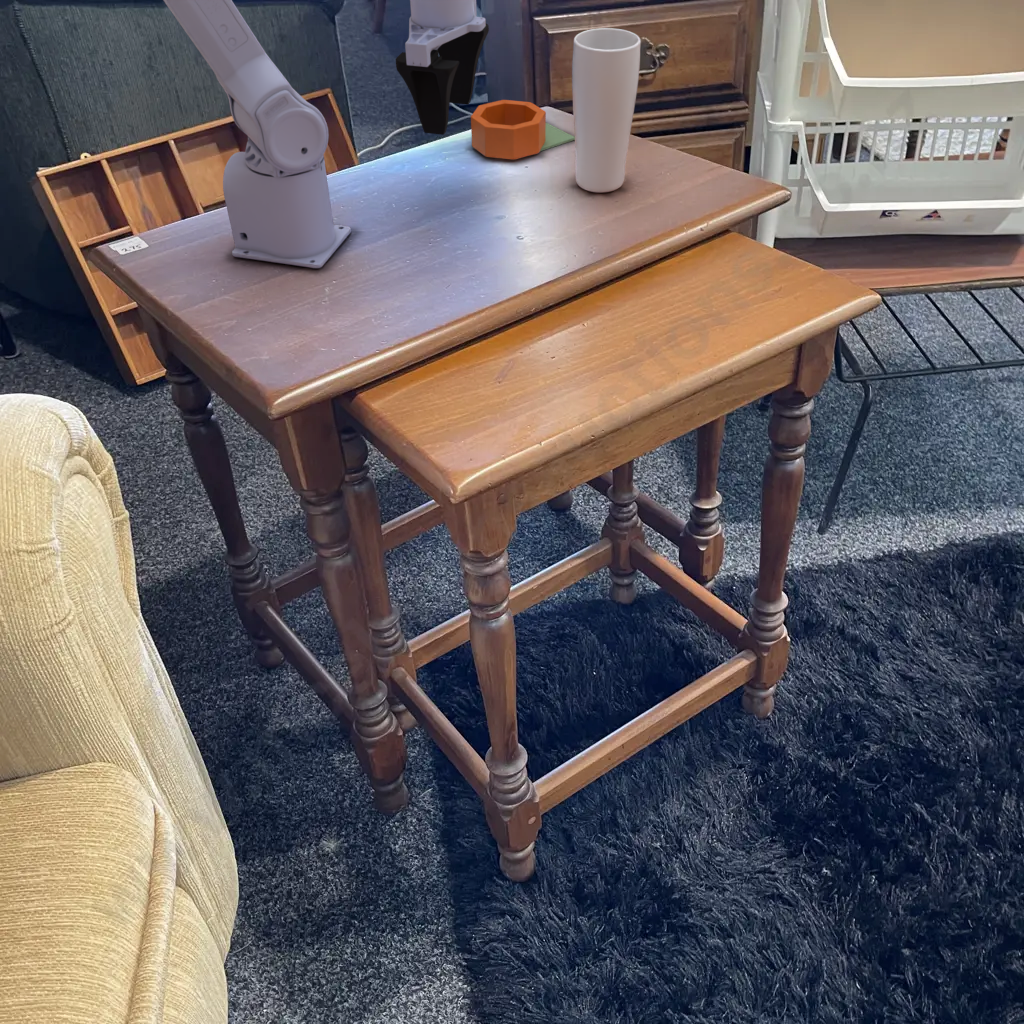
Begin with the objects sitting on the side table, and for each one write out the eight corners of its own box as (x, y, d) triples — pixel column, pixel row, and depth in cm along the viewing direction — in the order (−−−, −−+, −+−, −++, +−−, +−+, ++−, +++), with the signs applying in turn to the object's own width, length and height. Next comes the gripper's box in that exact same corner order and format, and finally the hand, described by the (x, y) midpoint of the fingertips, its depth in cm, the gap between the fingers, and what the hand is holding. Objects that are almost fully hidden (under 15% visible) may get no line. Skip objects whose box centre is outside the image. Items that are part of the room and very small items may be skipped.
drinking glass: (633, 197, 105) (644, 50, 95) (569, 198, 105) (574, 51, 95) (628, 169, 110) (638, 26, 100) (567, 170, 110) (571, 27, 100)
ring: (465, 155, 113) (464, 124, 110) (484, 127, 118) (484, 97, 116) (534, 161, 111) (534, 131, 109) (550, 133, 117) (550, 103, 114)
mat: (521, 157, 113) (521, 155, 112) (480, 135, 117) (480, 132, 117) (575, 139, 116) (575, 137, 116) (533, 118, 121) (533, 116, 120)
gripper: (456, -8, 82) (463, 151, 92) (505, -54, 92) (507, 93, 102) (377, -14, 84) (392, 143, 93) (434, -59, 94) (442, 87, 103)
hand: (447, 117), depth 98 cm, fingers open, 7 cm apart
